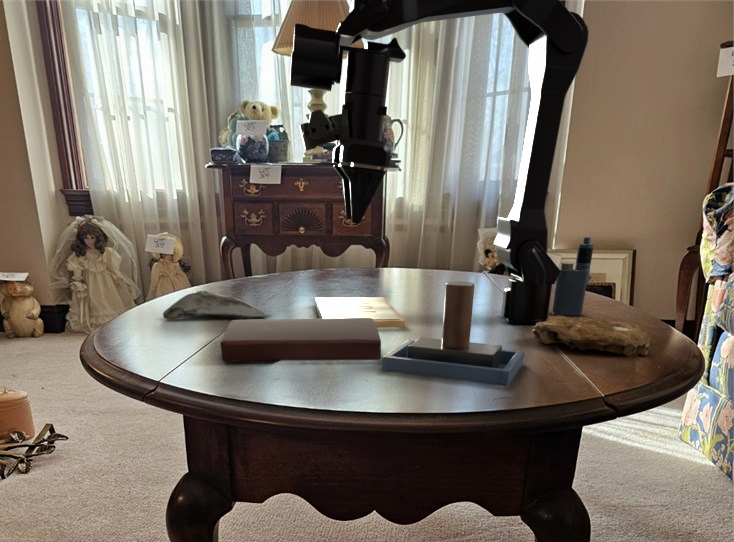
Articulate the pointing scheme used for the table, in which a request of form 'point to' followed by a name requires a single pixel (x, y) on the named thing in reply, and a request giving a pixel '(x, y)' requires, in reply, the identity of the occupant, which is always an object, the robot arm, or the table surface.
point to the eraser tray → (454, 366)
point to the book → (301, 340)
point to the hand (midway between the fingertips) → (352, 221)
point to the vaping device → (573, 282)
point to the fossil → (210, 306)
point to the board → (360, 310)
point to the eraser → (457, 333)
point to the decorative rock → (593, 334)
